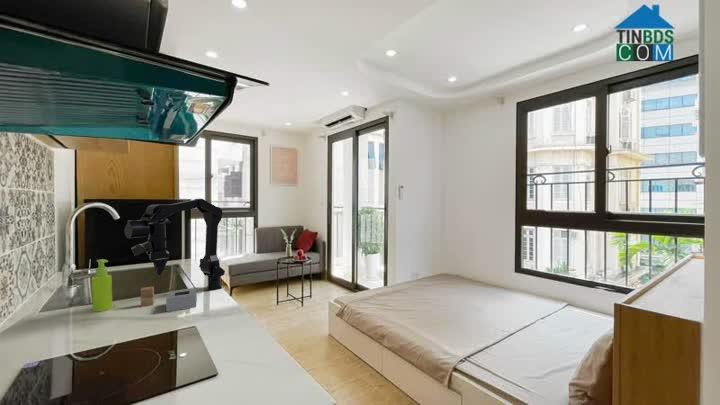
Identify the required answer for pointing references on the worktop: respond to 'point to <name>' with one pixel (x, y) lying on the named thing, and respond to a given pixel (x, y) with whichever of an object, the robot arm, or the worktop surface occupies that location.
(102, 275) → the soap dispenser
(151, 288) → the tan rectangular block
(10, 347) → the worktop surface
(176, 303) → the grey square socket block
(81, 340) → the worktop surface
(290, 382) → the worktop surface
